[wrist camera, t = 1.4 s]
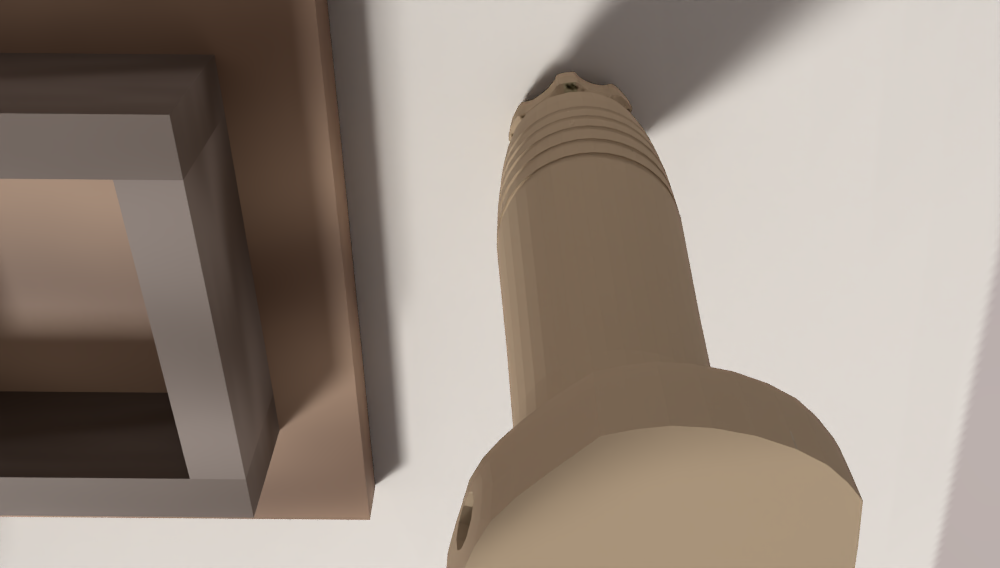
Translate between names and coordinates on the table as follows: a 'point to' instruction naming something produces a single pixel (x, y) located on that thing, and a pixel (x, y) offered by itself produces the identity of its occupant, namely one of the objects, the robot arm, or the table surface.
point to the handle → (630, 380)
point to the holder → (176, 265)
